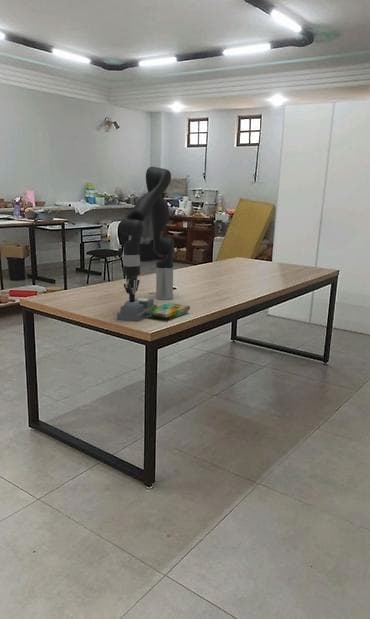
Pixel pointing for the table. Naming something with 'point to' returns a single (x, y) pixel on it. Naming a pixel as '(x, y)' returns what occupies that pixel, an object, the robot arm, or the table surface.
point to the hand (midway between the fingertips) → (132, 301)
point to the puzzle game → (168, 311)
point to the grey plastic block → (136, 311)
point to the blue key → (132, 304)
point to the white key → (142, 299)
